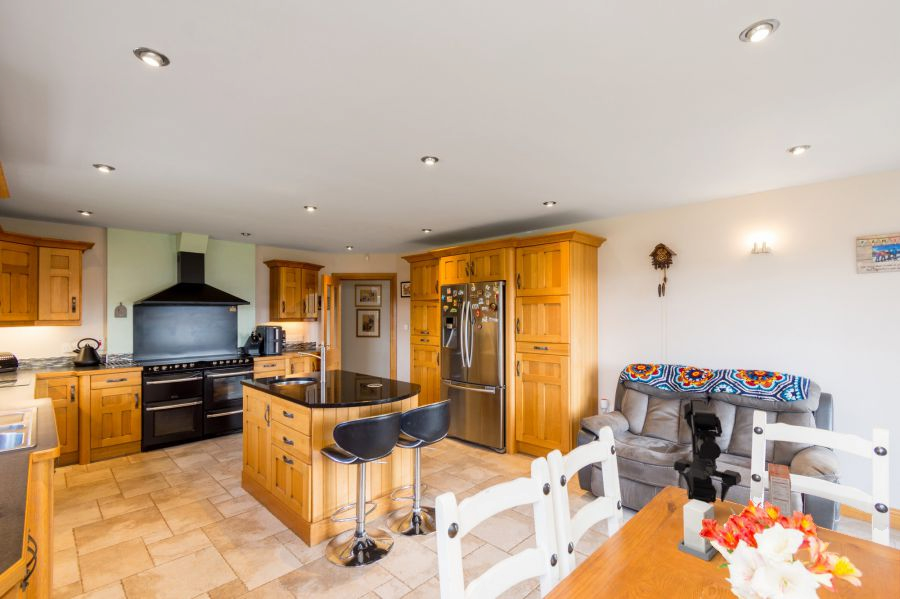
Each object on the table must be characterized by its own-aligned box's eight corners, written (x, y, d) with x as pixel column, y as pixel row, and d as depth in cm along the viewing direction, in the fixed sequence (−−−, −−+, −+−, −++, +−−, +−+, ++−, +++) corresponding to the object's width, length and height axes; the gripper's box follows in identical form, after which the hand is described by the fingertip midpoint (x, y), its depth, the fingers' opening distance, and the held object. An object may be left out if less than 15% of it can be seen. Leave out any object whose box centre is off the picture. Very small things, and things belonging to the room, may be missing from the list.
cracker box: (769, 521, 153) (767, 462, 153) (790, 526, 149) (789, 465, 150) (770, 538, 141) (768, 474, 142) (793, 543, 138) (791, 478, 138)
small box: (693, 538, 140) (693, 498, 141) (715, 546, 135) (714, 504, 136) (683, 547, 135) (682, 505, 136) (705, 555, 130) (704, 512, 131)
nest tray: (691, 537, 142) (691, 531, 142) (721, 547, 136) (721, 542, 136) (677, 549, 135) (677, 543, 135) (708, 561, 128) (708, 555, 128)
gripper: (666, 448, 145) (667, 495, 144) (729, 463, 131) (731, 514, 130) (679, 441, 152) (680, 486, 152) (741, 454, 138) (742, 503, 138)
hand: (706, 497), depth 143 cm, fingers open, 9 cm apart
